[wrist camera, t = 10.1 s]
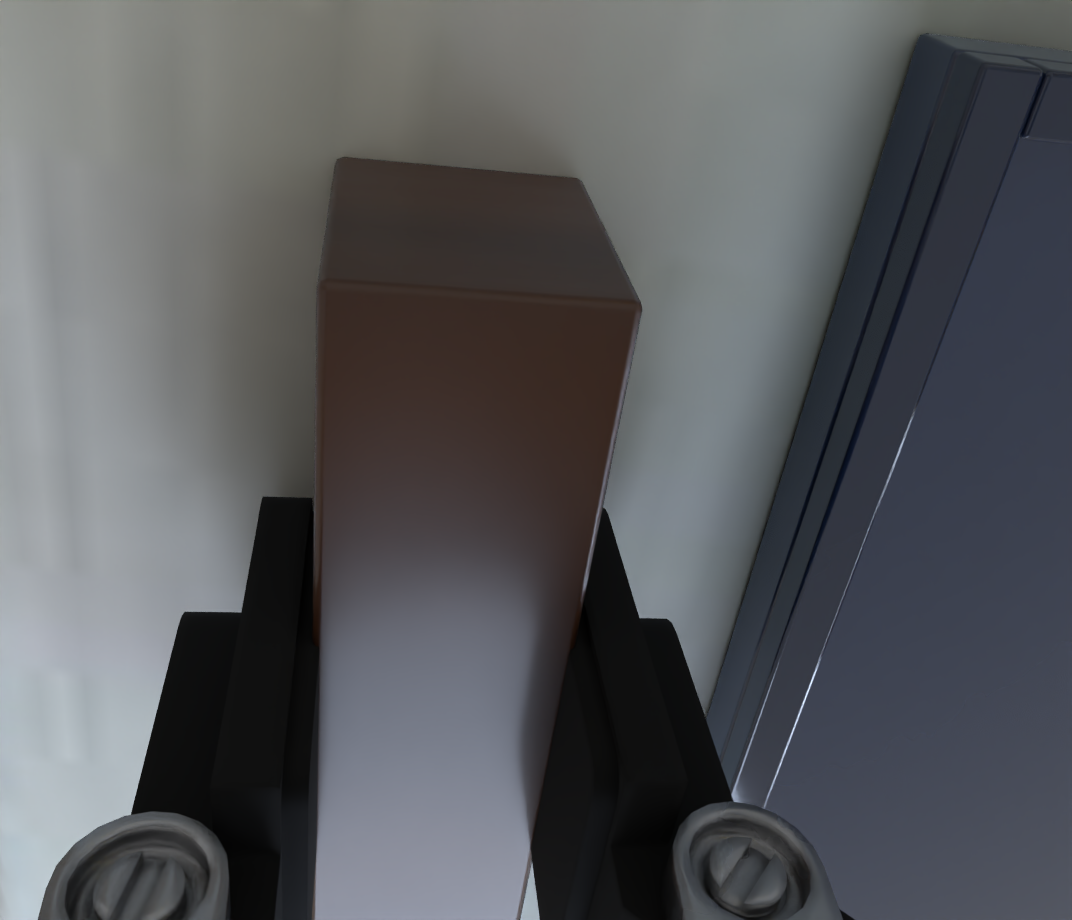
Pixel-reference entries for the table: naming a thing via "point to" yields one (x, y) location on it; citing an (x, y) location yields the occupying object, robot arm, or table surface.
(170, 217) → the table surface
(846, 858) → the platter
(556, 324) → the knife
